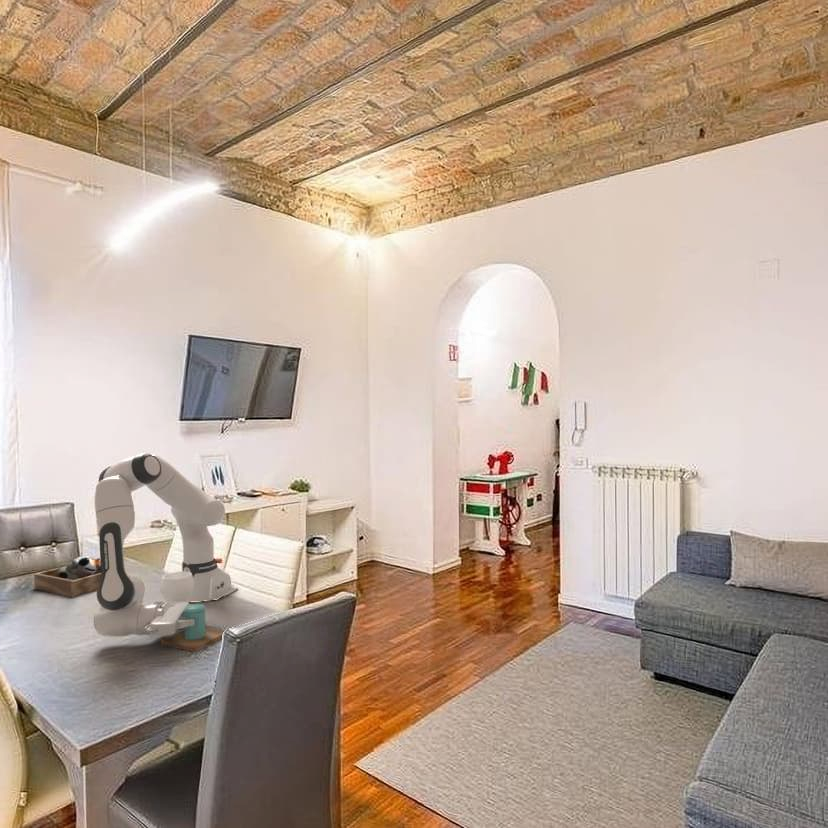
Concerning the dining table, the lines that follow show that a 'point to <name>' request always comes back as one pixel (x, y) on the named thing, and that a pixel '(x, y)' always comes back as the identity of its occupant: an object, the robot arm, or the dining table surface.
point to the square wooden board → (195, 644)
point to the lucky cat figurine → (79, 568)
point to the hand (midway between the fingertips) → (198, 616)
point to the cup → (177, 586)
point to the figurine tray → (66, 583)
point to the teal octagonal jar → (199, 615)
